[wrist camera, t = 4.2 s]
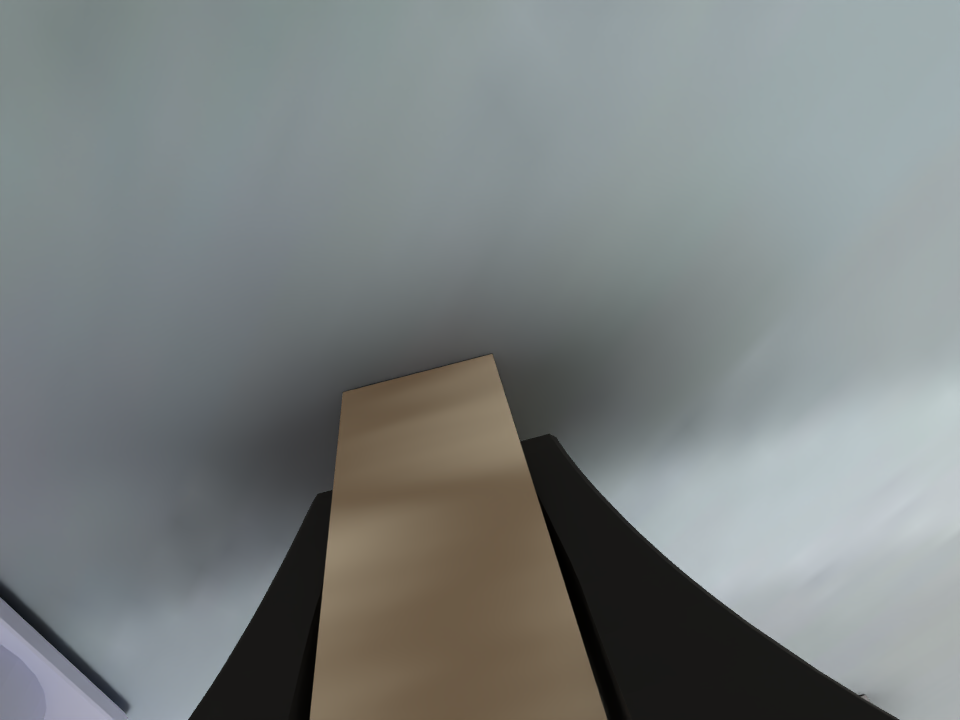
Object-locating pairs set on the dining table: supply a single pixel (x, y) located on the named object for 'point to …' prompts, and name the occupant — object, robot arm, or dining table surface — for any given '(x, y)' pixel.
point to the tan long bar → (442, 564)
